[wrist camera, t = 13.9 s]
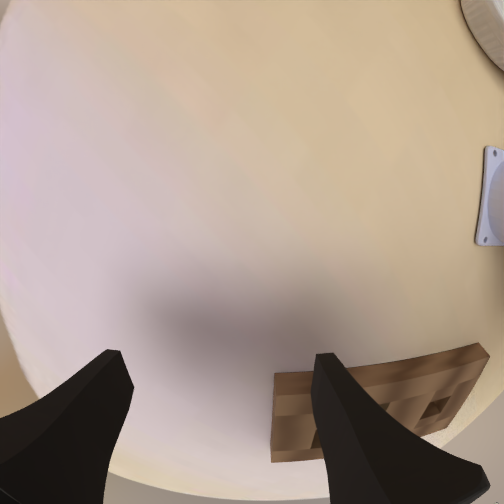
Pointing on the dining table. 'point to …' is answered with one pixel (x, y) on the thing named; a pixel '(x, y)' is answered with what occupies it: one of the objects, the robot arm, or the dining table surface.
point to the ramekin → (487, 26)
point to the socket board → (379, 397)
